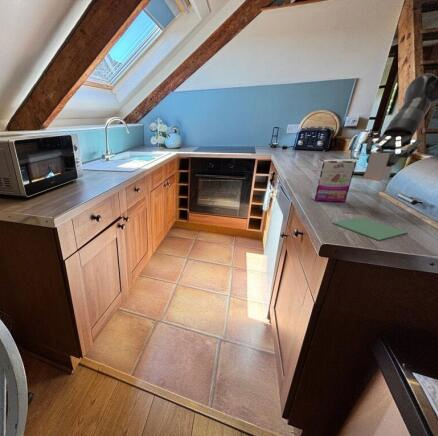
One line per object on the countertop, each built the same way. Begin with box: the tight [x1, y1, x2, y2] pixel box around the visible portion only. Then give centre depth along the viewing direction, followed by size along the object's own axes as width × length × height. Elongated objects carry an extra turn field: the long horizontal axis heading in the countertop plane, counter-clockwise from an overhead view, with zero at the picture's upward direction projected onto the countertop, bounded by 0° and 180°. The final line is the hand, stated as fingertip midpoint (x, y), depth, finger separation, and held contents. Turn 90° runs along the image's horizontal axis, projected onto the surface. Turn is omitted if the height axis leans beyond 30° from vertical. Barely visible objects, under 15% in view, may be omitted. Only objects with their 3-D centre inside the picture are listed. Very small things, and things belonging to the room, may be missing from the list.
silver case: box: [362, 150, 396, 182], centre depth 84 cm, size 5×8×9 cm, turn 122°
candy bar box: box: [310, 158, 358, 203], centre depth 98 cm, size 11×5×16 cm, turn 76°
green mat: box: [332, 216, 408, 242], centre depth 75 cm, size 13×13×1 cm
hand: (378, 163), depth 82 cm, fingers closed on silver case, 5 cm apart
